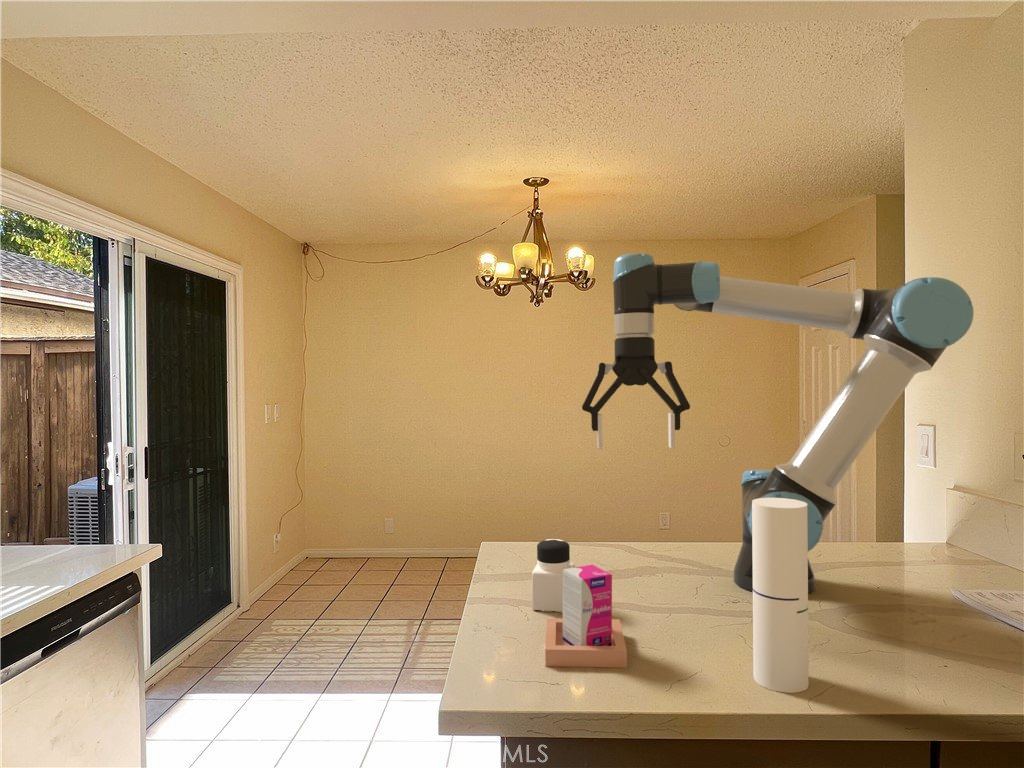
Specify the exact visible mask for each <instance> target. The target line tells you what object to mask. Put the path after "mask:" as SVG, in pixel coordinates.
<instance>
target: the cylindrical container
mask: <svg viewBox="0 0 1024 768" xmlns="http://www.w3.org/2000/svg"><path fill="white" fill-rule="evenodd" d="M808 556H809V551H808V524H807V503H805V502H803V501H799V500H794V499H787V498H758V499H754V500H752V560H753V591H752V638H753V639H752V643H753V644H752V645H753V647H752V650H753V651H752V652H753V653H752V654H753V655H752V656H753V658H752V659H753V660H752V661H753V662H752V663H753V666H752V668H753V669H752V670H753V673H752V674H753V679H754V681H755V682H756V683H757V685H760V687H763V688H766V689H767V690H768V689H769V690H770V691H775V692H778V693H784V694H785V693H786V694H787V693H788V694H795V693H800V692H803V691H805V690H807V689H808V688H809V687H810V686H809V683H810V682H809V678H810V677H809V593H808V559H809V557H808Z"/></svg>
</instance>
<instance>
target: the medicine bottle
mask: <svg viewBox="0 0 1024 768" xmlns="http://www.w3.org/2000/svg"><path fill="white" fill-rule="evenodd" d="M570 549H571V548H570V544H569V543H568V542H567V541H565V540H563V539H558V538H551V539H550V538H549V539H544V540H541V541H540V542H538V543H537V546H536V554H537V555H536V558H537V559H536V561H537V562H536V563H537V564H536V565H535V567H534V568H533V570H532V573H531V594H532V595H531V600H532V601H531V602H532V604H531V605H532V606H531V607H532V608H531V609H532V611H533V610H544V611H543V612H547V611H555V612H554V613H563V569H568V568H574V567H575V563H574V562H570V561H571V560H570V558H571V556H570V554H571V553H570Z"/></svg>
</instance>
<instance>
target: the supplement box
mask: <svg viewBox="0 0 1024 768" xmlns="http://www.w3.org/2000/svg"><path fill="white" fill-rule="evenodd" d="M612 612H613V575H612V573H610V572H608V571H605V570H603V569H602V568H600V567H597V566H596V565H594V564H588V565H587V564H586V565H581V566H576V567H574V568H568V569H563V612H562V619H563V640H564V641H565V642H566V643H568V644H569V645H571V646H611V645H612V619H613V618H612V617H613V616H612V614H613V613H612Z"/></svg>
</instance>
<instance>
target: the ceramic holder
mask: <svg viewBox="0 0 1024 768" xmlns="http://www.w3.org/2000/svg"><path fill="white" fill-rule="evenodd" d="M545 629H546V631H545V632H546V633H545V649H544V651H545V667H569V668H571V667H573V668H574V667H575V668H578V667H579V668H580V667H582V668H623V669H624V668H628V650H627V645H626V641H625V637H624V632H623V628H622V625H621V619H619V618H617V619H616V618H612V645H611V646H571V645H569V644H568V643H566V642H565V641H564V640H563V618H546V628H545Z"/></svg>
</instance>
